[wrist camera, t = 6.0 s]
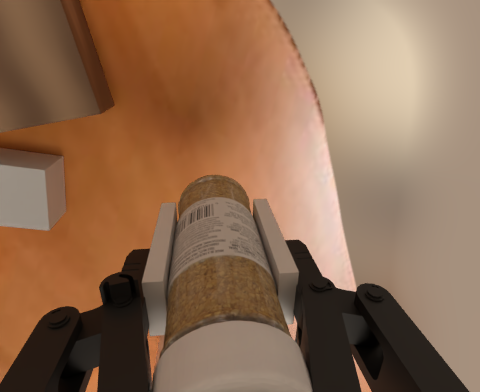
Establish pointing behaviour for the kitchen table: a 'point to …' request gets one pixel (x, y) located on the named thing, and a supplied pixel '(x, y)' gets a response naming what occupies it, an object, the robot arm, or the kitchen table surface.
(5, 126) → the walnut block
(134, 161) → the kitchen table surface
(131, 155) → the kitchen table surface
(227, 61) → the kitchen table surface
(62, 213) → the grey block
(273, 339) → the sprinkles bottle
